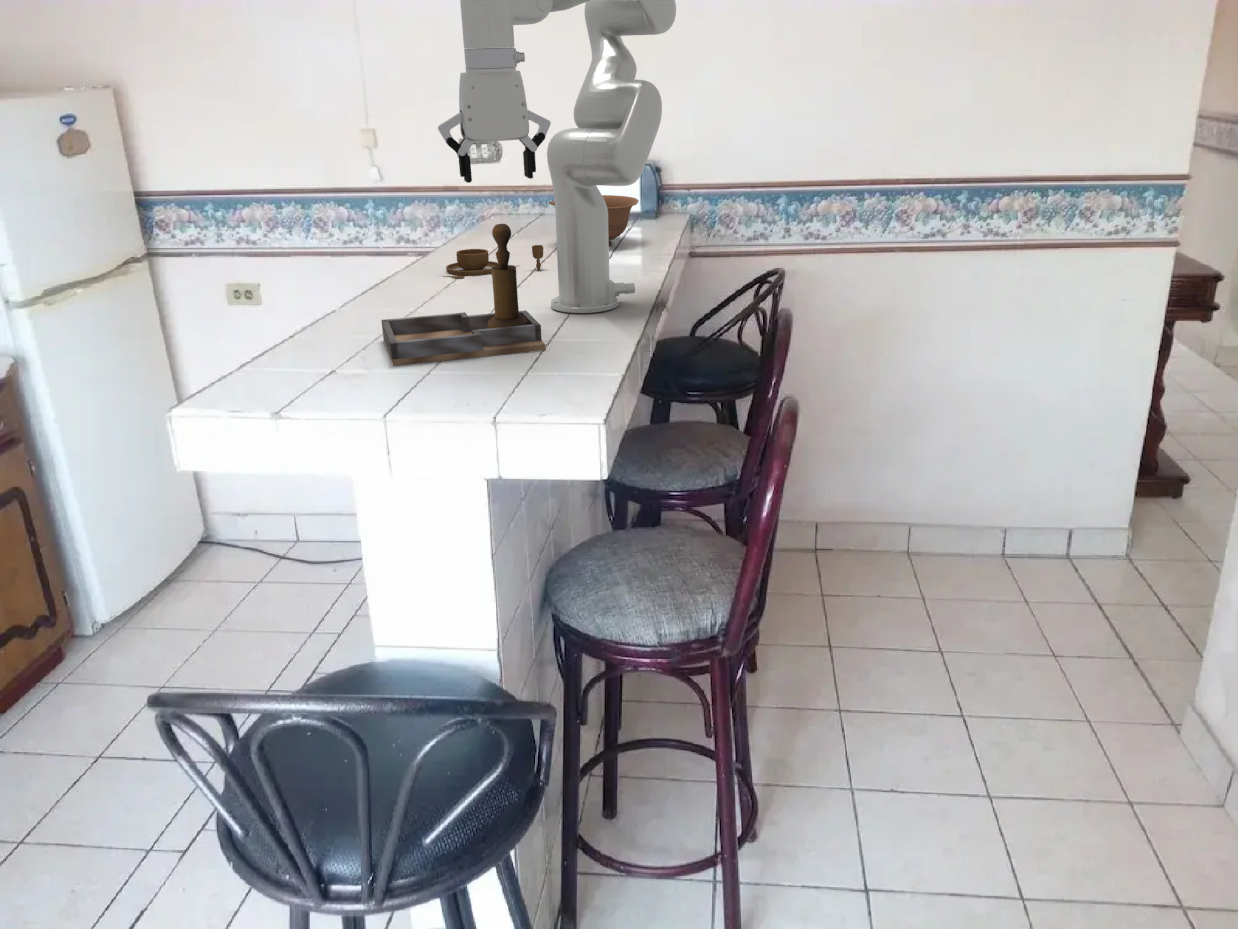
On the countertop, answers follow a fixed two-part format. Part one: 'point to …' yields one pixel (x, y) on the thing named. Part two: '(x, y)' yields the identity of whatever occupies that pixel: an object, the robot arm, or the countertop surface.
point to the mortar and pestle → (504, 284)
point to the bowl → (616, 213)
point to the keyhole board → (456, 337)
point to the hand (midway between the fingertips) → (498, 179)
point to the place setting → (481, 262)
